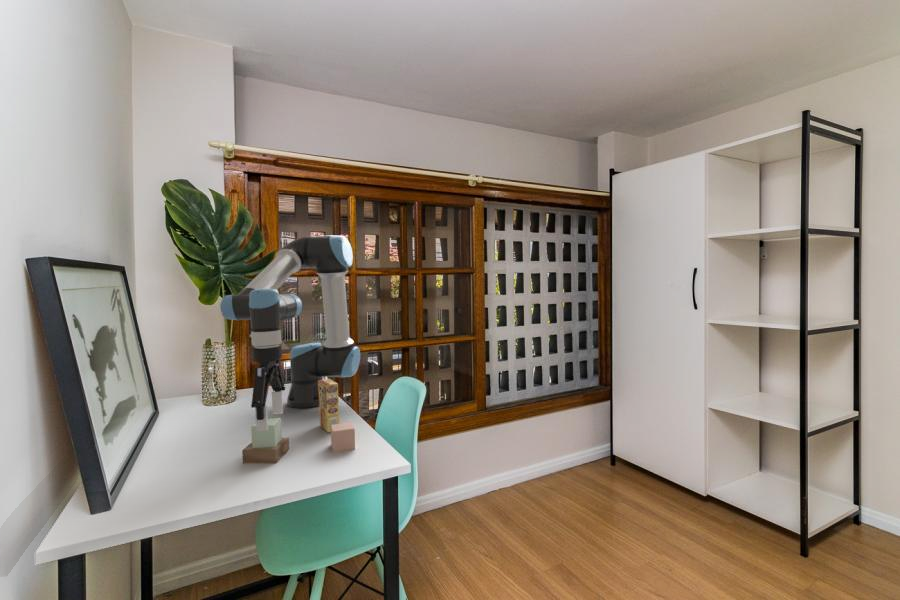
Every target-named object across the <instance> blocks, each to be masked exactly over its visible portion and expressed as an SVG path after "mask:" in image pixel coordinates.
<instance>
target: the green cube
mask: <svg viewBox="0 0 900 600" xmlns="http://www.w3.org/2000/svg"><path fill="white" fill-rule="evenodd" d="M250 428H251V432H250V433H251V443H252V448H266V447H276V445H277V444H278V443H279V442H280V440H281V439H282V438H283V437H282V418H281V417H278V418H277V417H274V418H268V431H256V421H255V422H254V423H253V424H252V425H251V427H250Z"/></svg>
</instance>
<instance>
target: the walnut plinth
mask: <svg viewBox="0 0 900 600" xmlns="http://www.w3.org/2000/svg"><path fill="white" fill-rule="evenodd" d="M288 450H289V451H290V436H289V437H282V439H281V440H280V442H279V443H278V444H277V445H276V447H266V448H252V442H251V443H249V444H248V445H246V446H245V447H244V448H242V451H241V454H242V464H277V463H278V462H279V461H280V460H281V459H282V458H283V457H284V456H285V455H286V454H287V453H288V452H289V451H288Z"/></svg>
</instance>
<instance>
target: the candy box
mask: <svg viewBox="0 0 900 600" xmlns="http://www.w3.org/2000/svg"><path fill="white" fill-rule="evenodd" d="M318 393H319V406H318V410H319V411H318V412H319V426H321V428H323V430H324V431H326V432H327V433H331V425H334V424H340V407H339V406H340V404H339V403H340V402H339V384H338V383H337V382H336V381H334V380H333V379H331V378H324V379H323V378H322V380H318Z"/></svg>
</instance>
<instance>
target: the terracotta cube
mask: <svg viewBox="0 0 900 600" xmlns="http://www.w3.org/2000/svg"><path fill="white" fill-rule="evenodd" d="M355 431H356V429H355V427H354V425H353V422H352V421H351V422H343V423H339V424H334V425H331V432H330V436H331V437H330V439H331V440H330V445H331V448H332V452H333V453H337V452H338V453H339V452H344V451H351V450H356V436H355V435H356V433H355Z"/></svg>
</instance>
